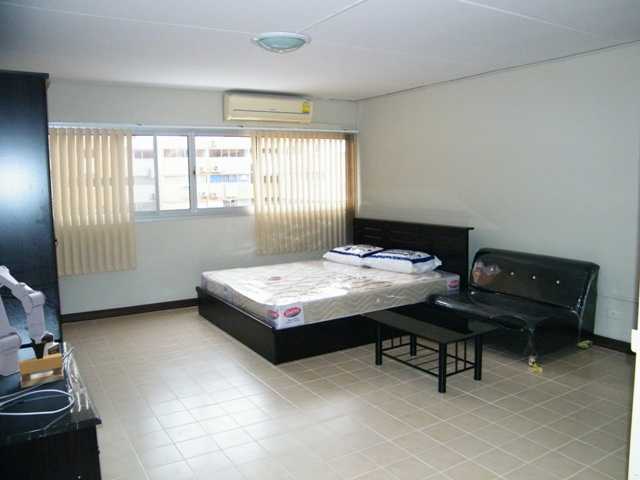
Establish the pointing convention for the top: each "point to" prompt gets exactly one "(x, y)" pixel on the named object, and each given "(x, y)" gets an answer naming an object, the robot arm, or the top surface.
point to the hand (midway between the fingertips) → (39, 355)
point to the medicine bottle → (50, 345)
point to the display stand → (42, 377)
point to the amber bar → (40, 363)
